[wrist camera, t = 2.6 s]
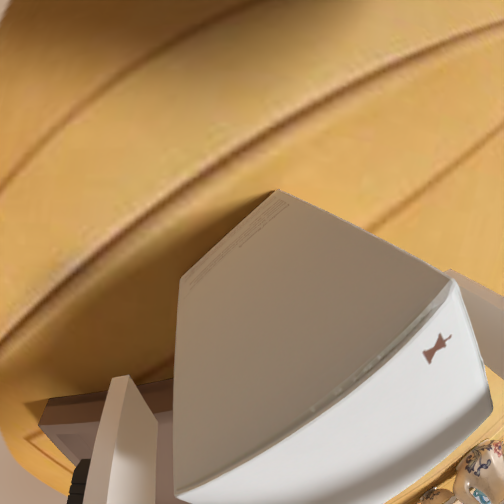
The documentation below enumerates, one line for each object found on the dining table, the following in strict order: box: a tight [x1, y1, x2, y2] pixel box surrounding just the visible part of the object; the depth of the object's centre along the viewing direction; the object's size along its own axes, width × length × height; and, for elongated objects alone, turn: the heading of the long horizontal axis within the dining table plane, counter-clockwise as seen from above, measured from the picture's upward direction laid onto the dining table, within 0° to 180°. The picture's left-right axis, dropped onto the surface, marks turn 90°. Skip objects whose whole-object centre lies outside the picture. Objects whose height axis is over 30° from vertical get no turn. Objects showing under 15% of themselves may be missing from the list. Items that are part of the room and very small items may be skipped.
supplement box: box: [173, 189, 493, 504], centre depth 12 cm, size 7×7×13 cm
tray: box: [38, 378, 192, 504], centre depth 20 cm, size 20×14×3 cm
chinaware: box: [415, 438, 504, 504], centre depth 30 cm, size 28×17×17 cm, turn 107°
